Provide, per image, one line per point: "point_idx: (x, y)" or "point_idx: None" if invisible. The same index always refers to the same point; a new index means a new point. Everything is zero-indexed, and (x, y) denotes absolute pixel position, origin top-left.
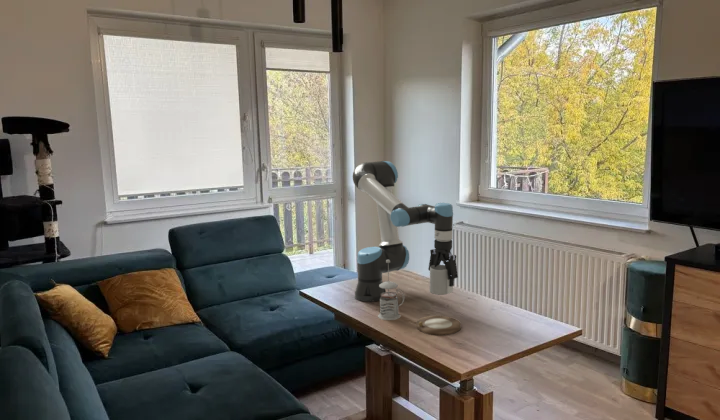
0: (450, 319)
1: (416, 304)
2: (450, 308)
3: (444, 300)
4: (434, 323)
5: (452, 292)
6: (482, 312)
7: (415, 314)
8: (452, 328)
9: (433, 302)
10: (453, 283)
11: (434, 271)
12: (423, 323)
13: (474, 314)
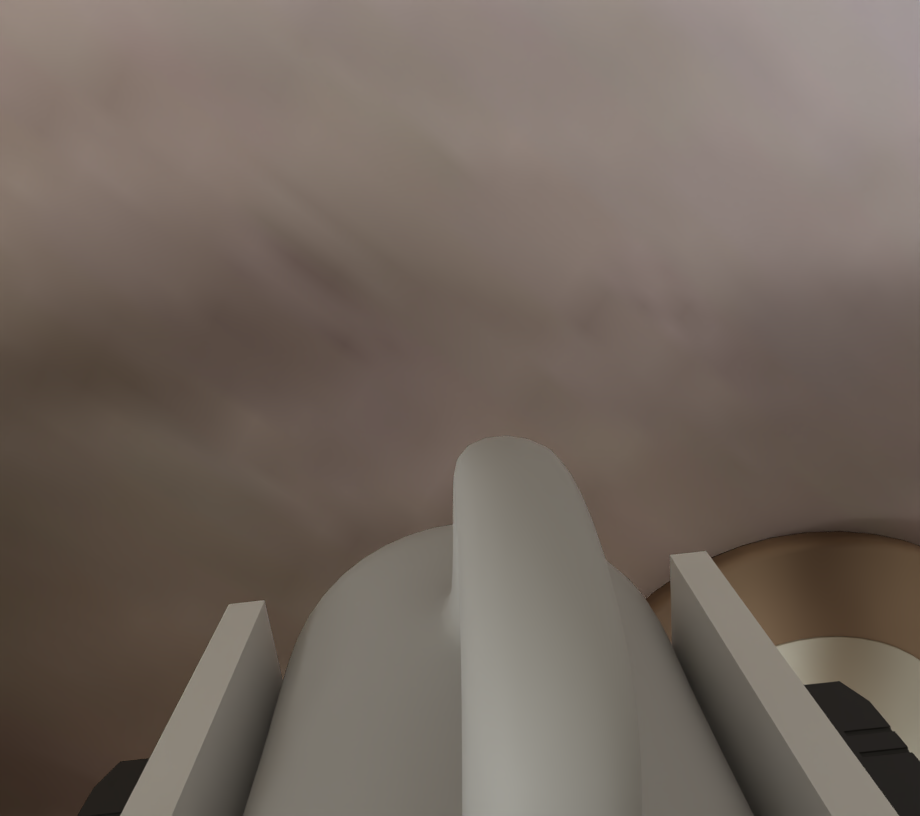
0: (812, 601)
1: (93, 572)
2: (426, 304)
3: (93, 166)
4: None
5: (707, 558)
6: (817, 4)
7: None
8: None
9: (109, 355)
10: (895, 741)
11: None
12: None
13: (797, 170)
